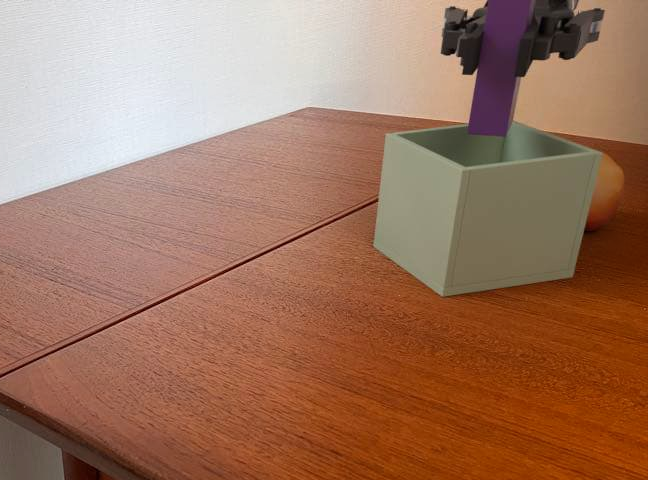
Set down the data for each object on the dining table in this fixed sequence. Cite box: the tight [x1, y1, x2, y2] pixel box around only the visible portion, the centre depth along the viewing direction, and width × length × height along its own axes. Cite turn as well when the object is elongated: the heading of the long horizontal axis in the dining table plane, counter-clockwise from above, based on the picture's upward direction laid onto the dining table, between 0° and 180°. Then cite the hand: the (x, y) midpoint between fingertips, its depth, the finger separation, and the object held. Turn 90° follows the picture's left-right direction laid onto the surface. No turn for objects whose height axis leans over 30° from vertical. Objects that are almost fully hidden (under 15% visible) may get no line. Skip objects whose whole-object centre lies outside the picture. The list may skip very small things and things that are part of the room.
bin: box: [372, 120, 604, 298], centre depth 76 cm, size 12×12×11 cm
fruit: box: [584, 151, 625, 232], centre depth 84 cm, size 8×8×8 cm
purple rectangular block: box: [467, 0, 536, 137], centre depth 69 cm, size 3×5×12 cm, turn 152°
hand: (496, 57), depth 65 cm, fingers closed on purple rectangular block, 3 cm apart
